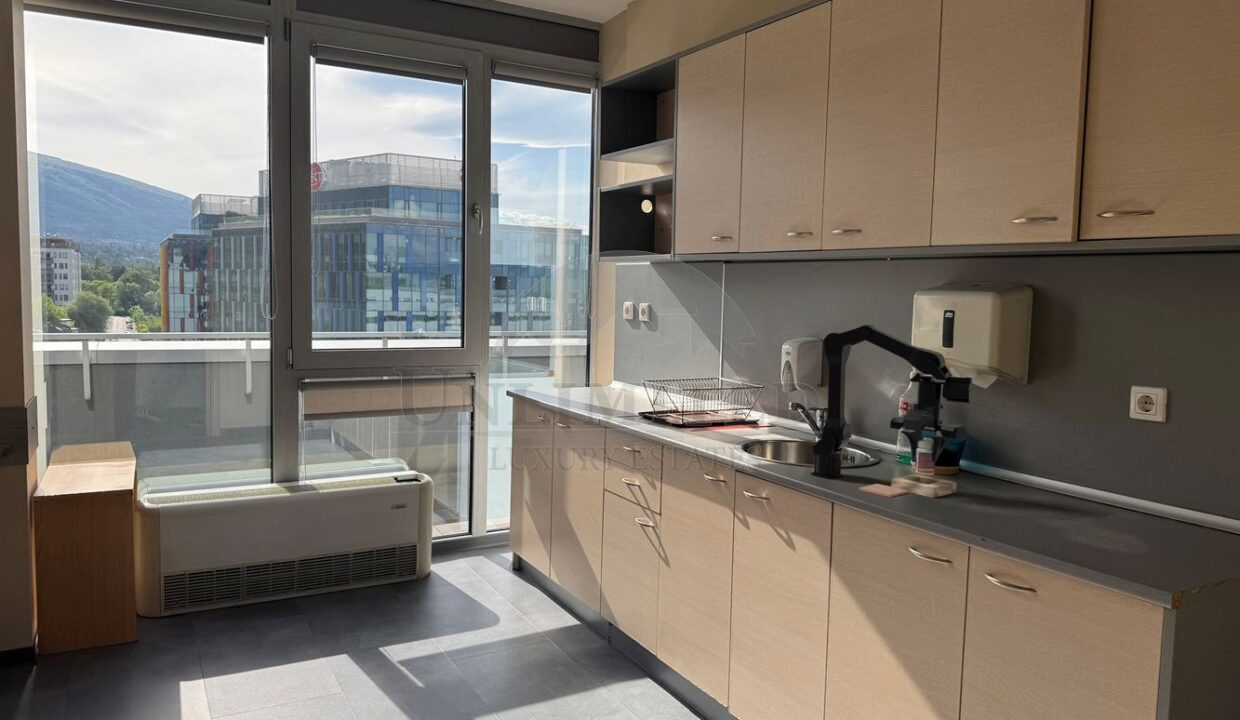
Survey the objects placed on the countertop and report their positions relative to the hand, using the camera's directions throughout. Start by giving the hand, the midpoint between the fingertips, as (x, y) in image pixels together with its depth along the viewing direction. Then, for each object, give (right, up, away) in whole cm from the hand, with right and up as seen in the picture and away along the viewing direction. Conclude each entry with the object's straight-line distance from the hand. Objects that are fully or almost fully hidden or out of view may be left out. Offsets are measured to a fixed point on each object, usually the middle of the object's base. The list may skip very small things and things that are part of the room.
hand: (925, 460), depth 218 cm
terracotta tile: (-12, -8, -2) cm, 14 cm away
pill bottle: (0, -4, 0) cm, 4 cm away
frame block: (0, -8, +1) cm, 8 cm away
